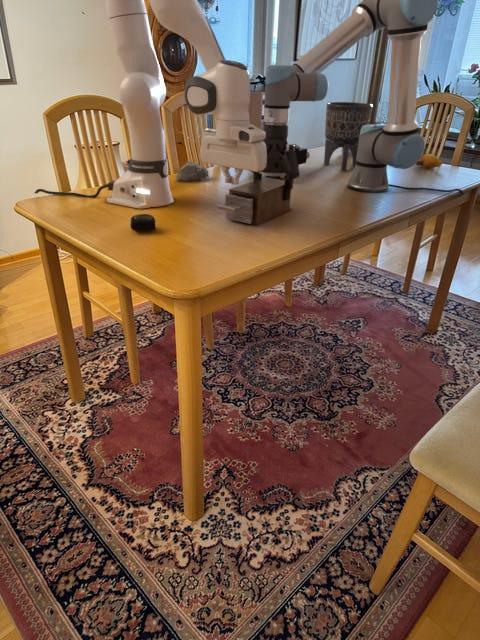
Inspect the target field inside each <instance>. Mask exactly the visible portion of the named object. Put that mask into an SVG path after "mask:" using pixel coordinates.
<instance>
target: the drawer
mask: <svg viewBox="0 0 480 640" xmlns="http://www.w3.org/2000/svg"><path fill="white" fill-rule="evenodd" d="M254 205H255V198H254V197H249V196H244V195H239V194H233V195H230V194H229V193H227V194H225V203H223V204H222V203H219V204H218V205H217V209H218V210H220V211H221V210H222V211H224V212H225V214H224V215H225V219H227V220H232V221H236V222H241V223H244V224H250V225H252V224H251V223H252V220H253V219H254Z"/></svg>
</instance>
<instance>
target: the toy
mask: <svg viewBox="0 0 480 640" xmlns="http://www.w3.org/2000/svg"><path fill="white" fill-rule="evenodd" d="M415 165H416V166H421V167H425V168H426V169H428V170H430V169H435V168H438V167H441V166H442V165H443V161H442V160H440V159H438V157H437V156H436V155H434V154H430V153H428V154H425V155H423V154H422V156H421V158H420V159H419V160H418V161H417V163H416V164H415Z"/></svg>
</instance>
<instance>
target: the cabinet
mask: <svg viewBox="0 0 480 640" xmlns="http://www.w3.org/2000/svg"><path fill="white" fill-rule="evenodd" d="M284 186H285V179H278V178H272V177H268V176H266V177H262V178H261V179H258V180H255V181H253V180H252V181H250V182H247V183H243V184H240V185H238V186H234V187H232V188H229V189H228V194H230V195H233V194H239V195H244V196H249V197H254V198H255V205H254V219H253V220H252V223H251V224H250V225H254V226H258V225H260V224H262V223H264V222H266V221H269V220H271V219H273V218H275V217H277V216H279V215H282V214H284V213H285V212H288V211H290V208H291V198H290V199H288V200H286V201H284ZM291 194H292V190H290V197H291Z"/></svg>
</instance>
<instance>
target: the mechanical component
mask: <svg viewBox="0 0 480 640" xmlns="http://www.w3.org/2000/svg"><path fill="white" fill-rule="evenodd" d="M285 152H286V154H287V159H288V162H289V164H290V160H289V154H288V151H287V148H286V150H285ZM310 156H311V154H310V152H309V151H308V148H304V147H301V146H299V145H297V144H296V157H297V163H298V168H299V167H300V165H303V164H304V165H305V164H307V160H309V158H310ZM290 167H291V166H290ZM259 173H262V178H264V177H279V178H280V179H285V176H286V174H285V172H284V169H283V167H282V164H281V162H280V160H279V159H278V156H277V157H276V156H273V155H271V156H269V157H268V159H267V163H266V167H265V169H264V170H263V171H260V172H259Z"/></svg>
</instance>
